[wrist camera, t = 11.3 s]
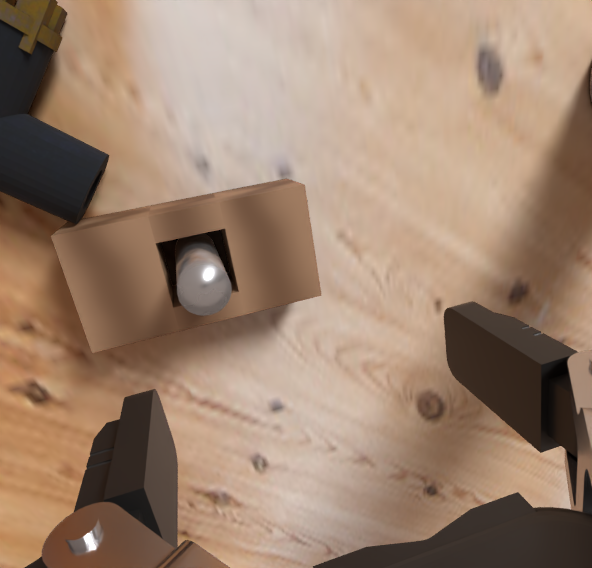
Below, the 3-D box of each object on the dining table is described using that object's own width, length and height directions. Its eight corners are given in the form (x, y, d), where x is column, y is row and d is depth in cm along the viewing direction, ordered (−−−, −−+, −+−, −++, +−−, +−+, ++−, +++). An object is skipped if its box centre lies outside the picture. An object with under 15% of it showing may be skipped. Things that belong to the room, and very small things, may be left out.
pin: (210, 227, 35) (225, 259, 26) (219, 264, 36) (236, 308, 27) (170, 235, 34) (171, 271, 25) (180, 273, 35) (184, 321, 26)
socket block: (286, 178, 35) (304, 184, 31) (302, 276, 38) (321, 295, 33) (67, 222, 32) (50, 236, 28) (102, 324, 35) (91, 353, 30)
